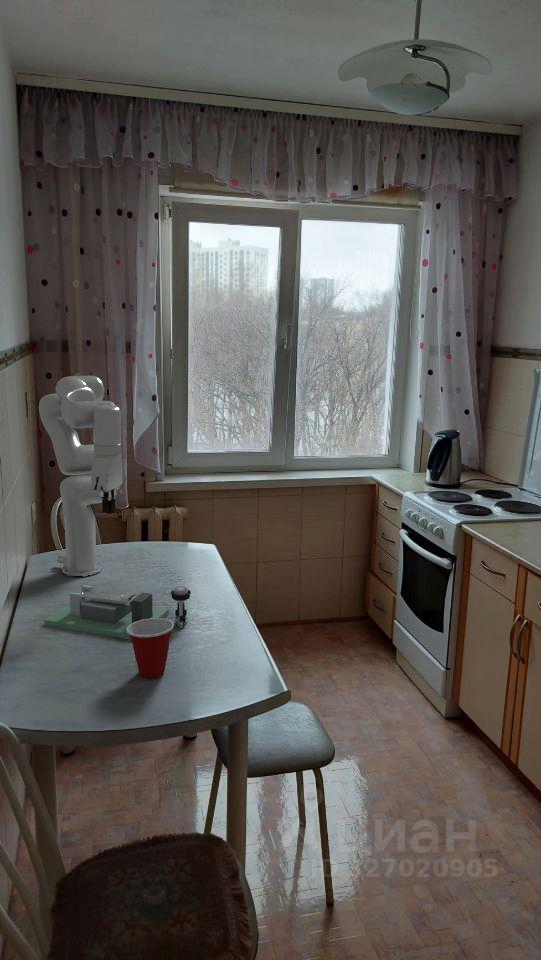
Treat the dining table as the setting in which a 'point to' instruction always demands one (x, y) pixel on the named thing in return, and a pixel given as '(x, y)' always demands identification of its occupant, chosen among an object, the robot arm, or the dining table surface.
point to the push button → (180, 604)
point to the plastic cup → (151, 645)
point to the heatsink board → (94, 625)
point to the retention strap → (109, 597)
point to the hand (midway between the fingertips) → (108, 512)
